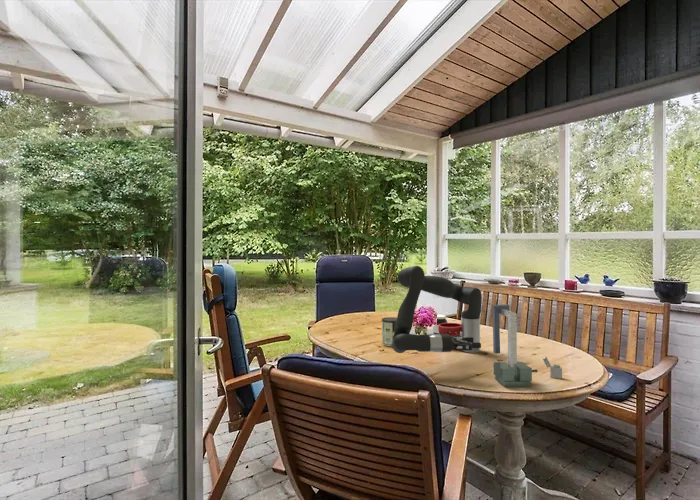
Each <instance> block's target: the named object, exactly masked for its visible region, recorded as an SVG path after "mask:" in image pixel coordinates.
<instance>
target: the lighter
mask: <svg viewBox="0 0 700 500" xmlns="http://www.w3.org/2000/svg"><path fill="white" fill-rule="evenodd" d="M542 361H543V362H544V364H545V367H546V368H547V369H548V368H550V375H549V377H550V378H554V379H558V380H562V379H563V367H561V366H560V365H559V364H556V363H555V364H553V365H551V363H550V362H549V359H548V357H547V356H546V355H545V356H543V357H542Z"/></svg>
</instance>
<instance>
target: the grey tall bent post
mask: <svg viewBox="0 0 700 500" xmlns="http://www.w3.org/2000/svg"><path fill="white" fill-rule="evenodd" d="M499 315H501V316H505V317H507V362H506V361H493V375H494V380H496V381H497V382H498V383H500V385H502V386H504V388H524V387H527V388H531V386H532V385H531V384H532V383H531V382H533V373H538V369H532V367H531V366H529V365H527V364H526V363H525V362H522V361H517V360H518V359H517V356H518V355H517V352H518V351H517V350H518V345H517V344H518V343H517V342H518V339H517V338H518V335H517V333H518V329H517V326H518V324H517V323H518V322H517V321H518V320H517V319H518V318H517V316H518V315H517V312H513V311H511V310H510V309H509V310H506V309H499Z"/></svg>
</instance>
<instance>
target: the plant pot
mask: <svg viewBox="0 0 700 500" xmlns="http://www.w3.org/2000/svg"><path fill="white" fill-rule="evenodd" d="M438 330H439V334H450V335H451V336H460V332H461V323H457V322H448V323H442V324H439V325H438ZM449 332H450V333H449ZM452 349H455V348H454V347H453V348H452Z"/></svg>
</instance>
